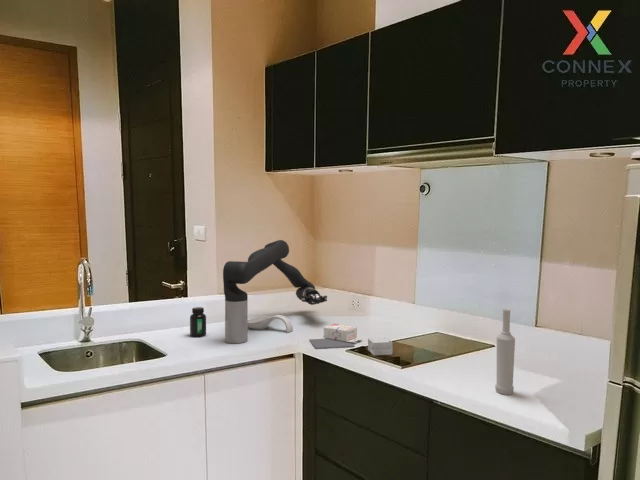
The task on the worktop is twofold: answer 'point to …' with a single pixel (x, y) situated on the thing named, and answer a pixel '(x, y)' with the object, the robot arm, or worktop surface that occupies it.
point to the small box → (380, 346)
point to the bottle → (505, 357)
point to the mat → (329, 343)
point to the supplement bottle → (197, 322)
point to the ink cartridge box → (341, 333)
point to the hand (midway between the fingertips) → (318, 301)
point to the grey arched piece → (264, 322)
